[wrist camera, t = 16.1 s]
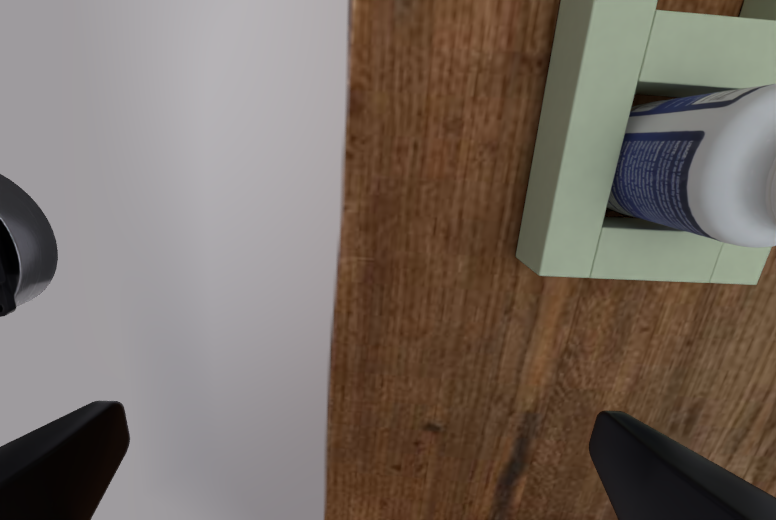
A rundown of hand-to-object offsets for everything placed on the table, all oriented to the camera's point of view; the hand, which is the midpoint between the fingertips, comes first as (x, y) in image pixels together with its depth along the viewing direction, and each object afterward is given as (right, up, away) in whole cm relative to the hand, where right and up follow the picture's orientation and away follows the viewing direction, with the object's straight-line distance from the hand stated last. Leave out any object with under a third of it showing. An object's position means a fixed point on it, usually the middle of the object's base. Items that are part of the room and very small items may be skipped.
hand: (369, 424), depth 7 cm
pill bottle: (+13, +8, +12) cm, 19 cm away
